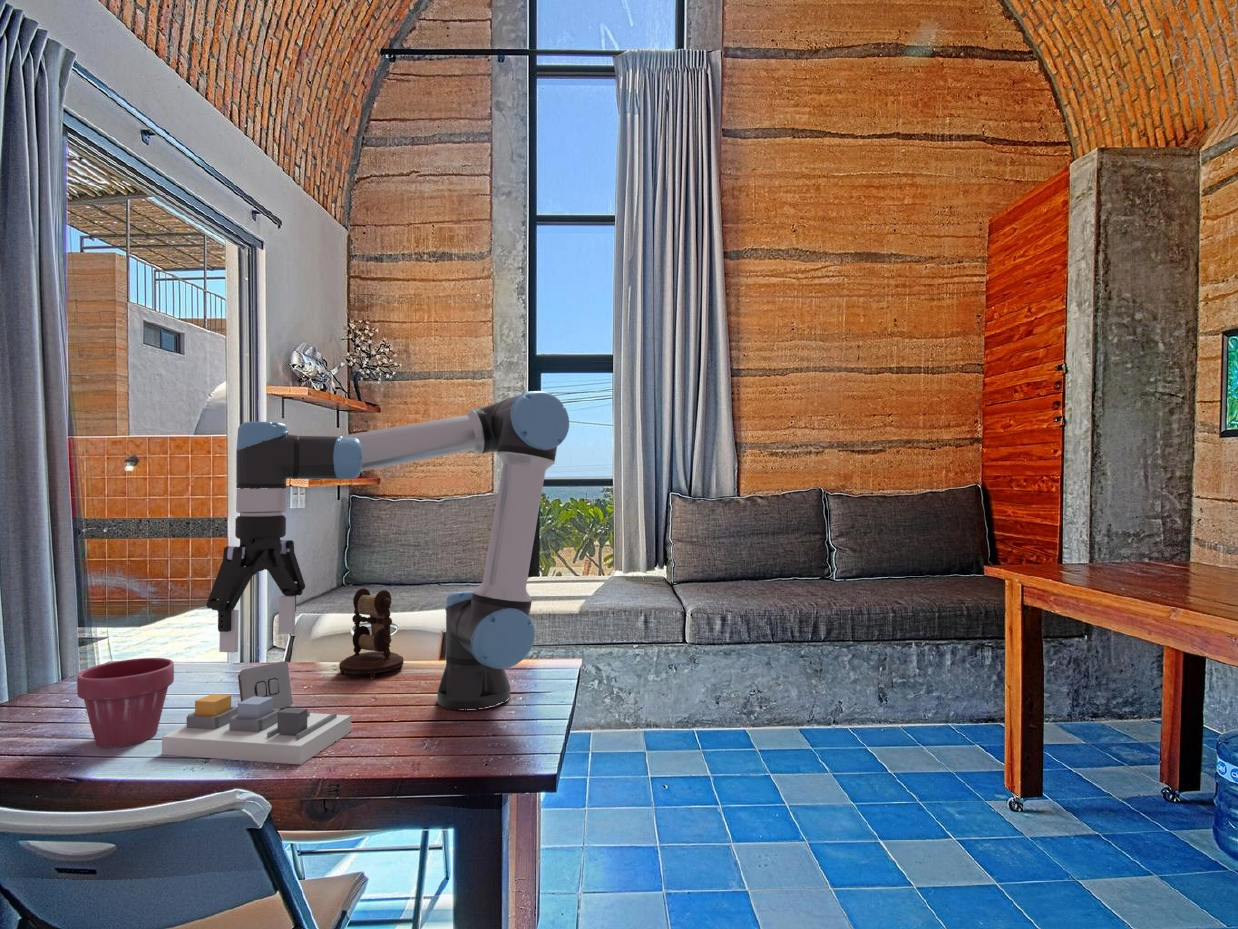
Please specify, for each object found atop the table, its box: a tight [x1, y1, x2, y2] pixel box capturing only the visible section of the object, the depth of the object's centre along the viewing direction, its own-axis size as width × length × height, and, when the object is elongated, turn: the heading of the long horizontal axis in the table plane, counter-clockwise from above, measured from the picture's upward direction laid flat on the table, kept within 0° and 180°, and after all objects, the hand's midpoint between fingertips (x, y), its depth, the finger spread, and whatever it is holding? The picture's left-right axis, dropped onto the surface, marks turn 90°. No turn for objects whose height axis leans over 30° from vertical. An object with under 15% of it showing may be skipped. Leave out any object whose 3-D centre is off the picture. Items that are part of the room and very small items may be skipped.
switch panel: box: [161, 705, 352, 765], centre depth 123 cm, size 26×15×5 cm, turn 80°
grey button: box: [237, 696, 273, 719], centre depth 124 cm, size 4×4×3 cm
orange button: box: [194, 693, 232, 716], centre depth 125 cm, size 4×4×3 cm
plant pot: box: [76, 657, 175, 748], centre depth 126 cm, size 14×14×13 cm
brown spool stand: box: [338, 588, 405, 679], centre depth 170 cm, size 15×15×20 cm
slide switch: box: [277, 707, 308, 735], centre depth 119 cm, size 4×2×4 cm, turn 80°
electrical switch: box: [237, 660, 294, 710], centre depth 141 cm, size 9×5×9 cm, turn 141°
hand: (259, 642), depth 116 cm, fingers open, 13 cm apart
